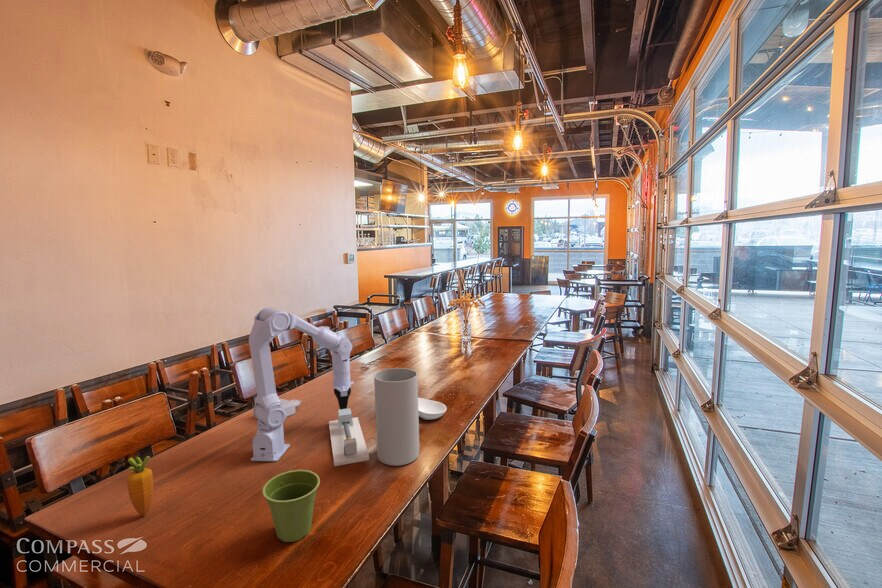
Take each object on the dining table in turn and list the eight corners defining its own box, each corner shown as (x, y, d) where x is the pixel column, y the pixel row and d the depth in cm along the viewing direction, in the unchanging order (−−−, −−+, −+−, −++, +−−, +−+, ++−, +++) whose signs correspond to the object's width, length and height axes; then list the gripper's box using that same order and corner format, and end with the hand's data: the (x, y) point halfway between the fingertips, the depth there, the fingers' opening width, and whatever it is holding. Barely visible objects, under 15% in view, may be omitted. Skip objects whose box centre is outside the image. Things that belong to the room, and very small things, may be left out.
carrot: (161, 508, 101) (155, 450, 99) (148, 522, 96) (140, 461, 94) (140, 509, 101) (133, 451, 99) (126, 523, 96) (118, 462, 94)
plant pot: (274, 560, 84) (270, 508, 83) (260, 528, 94) (256, 481, 92) (330, 535, 91) (327, 487, 90) (312, 507, 101) (309, 463, 99)
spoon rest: (449, 411, 156) (449, 393, 155) (442, 425, 144) (442, 405, 143) (389, 406, 161) (389, 389, 160) (378, 419, 150) (377, 400, 149)
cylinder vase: (373, 449, 128) (370, 371, 124) (412, 442, 132) (410, 366, 129) (382, 470, 116) (379, 384, 113) (425, 461, 120) (423, 378, 117)
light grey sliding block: (352, 426, 136) (352, 413, 136) (339, 428, 135) (338, 415, 135) (351, 419, 141) (350, 408, 141) (338, 421, 140) (337, 409, 139)
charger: (308, 408, 160) (275, 423, 148) (292, 404, 165) (258, 418, 152) (307, 397, 160) (274, 410, 147) (291, 392, 164) (257, 405, 152)
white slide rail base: (369, 460, 122) (368, 442, 121) (334, 466, 119) (333, 447, 118) (357, 419, 149) (357, 404, 148) (328, 424, 146) (328, 408, 145)
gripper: (355, 376, 137) (357, 415, 138) (351, 364, 150) (352, 399, 152) (333, 378, 134) (335, 418, 136) (330, 366, 148) (332, 402, 150)
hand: (343, 409), depth 144 cm, fingers closed
